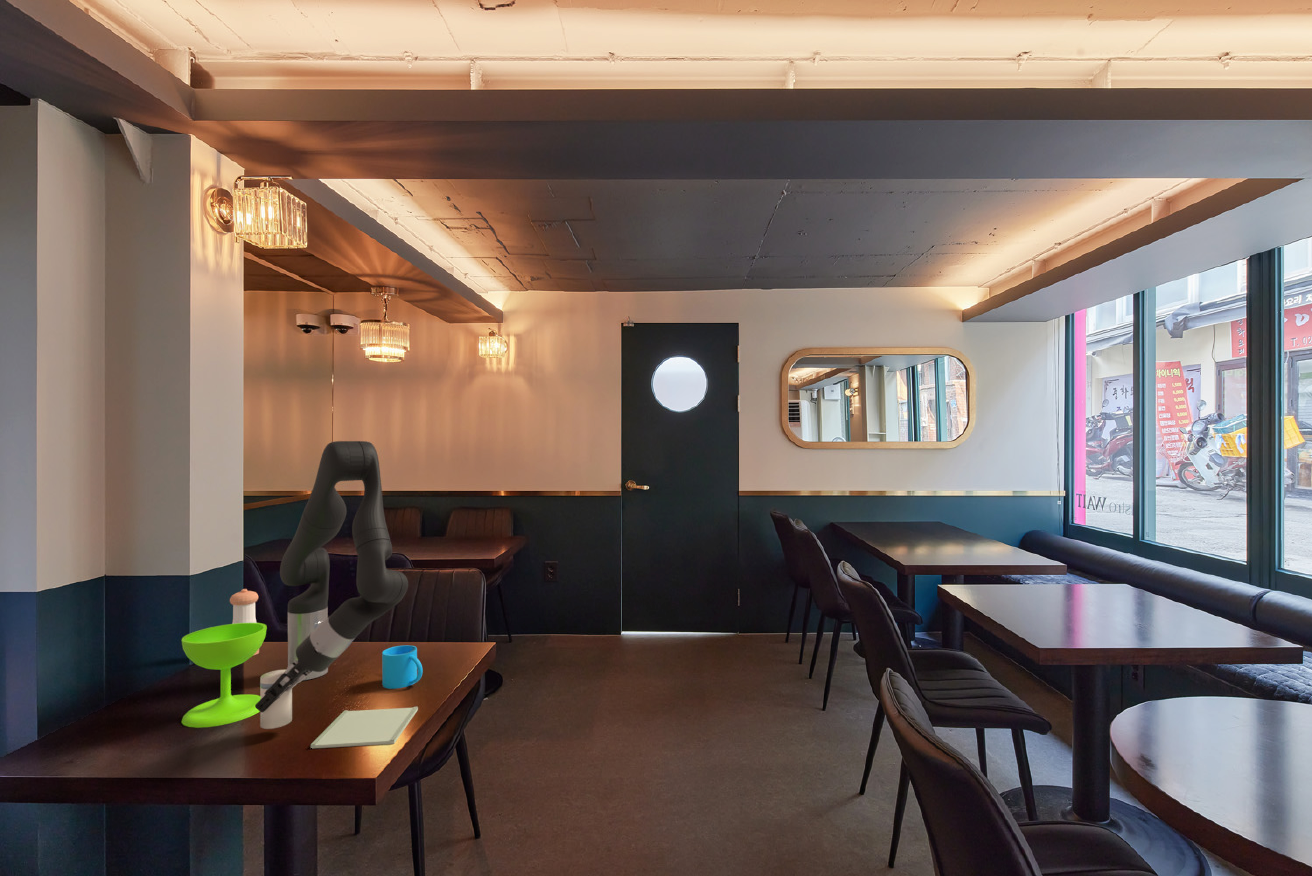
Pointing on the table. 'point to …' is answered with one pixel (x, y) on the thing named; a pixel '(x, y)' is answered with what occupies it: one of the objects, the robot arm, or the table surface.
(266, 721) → the cream domed container
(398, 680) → the mug
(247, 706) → the wineglass
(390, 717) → the mat
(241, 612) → the salt shaker
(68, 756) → the table surface
